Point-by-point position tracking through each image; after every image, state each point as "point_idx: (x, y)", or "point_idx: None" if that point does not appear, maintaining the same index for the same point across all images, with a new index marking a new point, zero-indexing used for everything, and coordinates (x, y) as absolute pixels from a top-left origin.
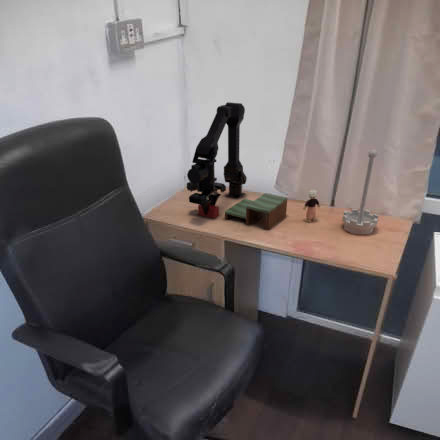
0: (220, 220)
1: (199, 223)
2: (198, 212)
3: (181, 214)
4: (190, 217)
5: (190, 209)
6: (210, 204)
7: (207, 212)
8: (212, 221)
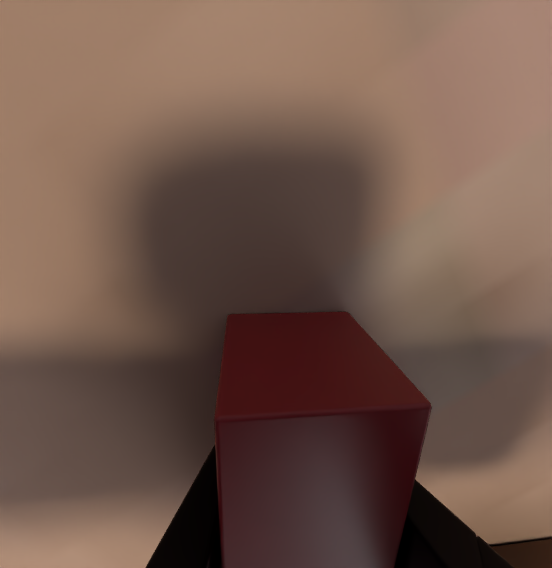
0: None
1: (12, 477)
2: (225, 334)
3: (44, 43)
4: (67, 278)
5: (336, 71)
6: (406, 550)
7: None
8: None
